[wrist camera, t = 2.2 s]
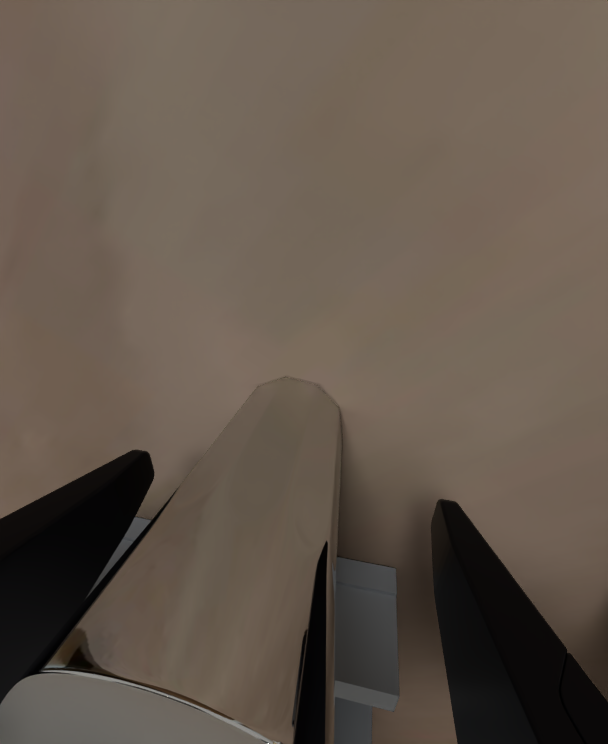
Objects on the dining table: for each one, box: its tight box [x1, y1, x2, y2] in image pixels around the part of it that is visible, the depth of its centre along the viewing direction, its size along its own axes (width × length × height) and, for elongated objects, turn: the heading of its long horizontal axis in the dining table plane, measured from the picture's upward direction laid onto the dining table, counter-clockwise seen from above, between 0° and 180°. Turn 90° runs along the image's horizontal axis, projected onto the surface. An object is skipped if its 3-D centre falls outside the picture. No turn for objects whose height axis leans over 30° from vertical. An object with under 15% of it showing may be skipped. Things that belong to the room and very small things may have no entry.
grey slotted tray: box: [86, 517, 399, 744], centre depth 18 cm, size 16×17×4 cm
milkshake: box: [0, 377, 342, 744], centre depth 7 cm, size 5×5×10 cm
